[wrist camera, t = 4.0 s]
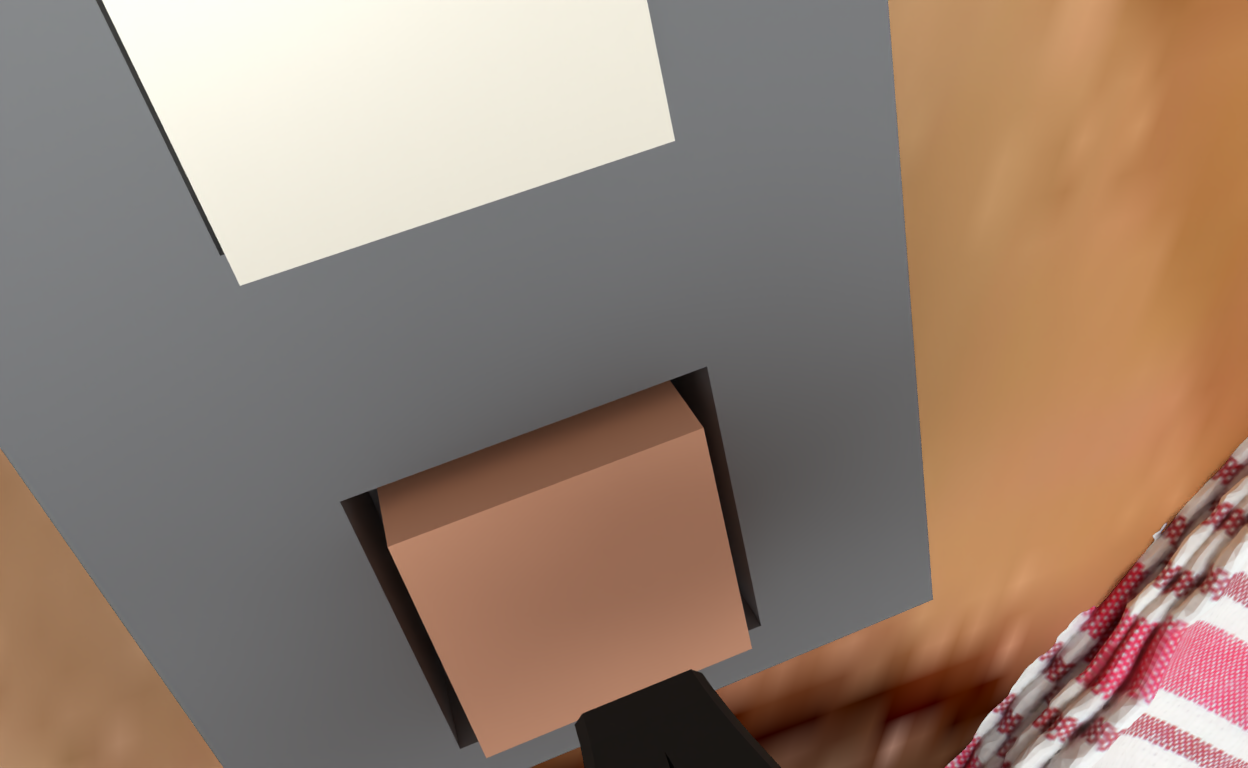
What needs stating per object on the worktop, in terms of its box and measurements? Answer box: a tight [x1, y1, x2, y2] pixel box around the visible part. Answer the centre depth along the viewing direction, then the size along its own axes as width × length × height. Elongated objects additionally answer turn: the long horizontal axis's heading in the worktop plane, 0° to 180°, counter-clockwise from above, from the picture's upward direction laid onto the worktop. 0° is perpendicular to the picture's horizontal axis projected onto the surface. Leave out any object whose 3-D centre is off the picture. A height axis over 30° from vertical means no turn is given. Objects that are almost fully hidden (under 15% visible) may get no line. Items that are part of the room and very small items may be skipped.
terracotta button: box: [377, 380, 752, 758], centre depth 15 cm, size 4×4×3 cm
